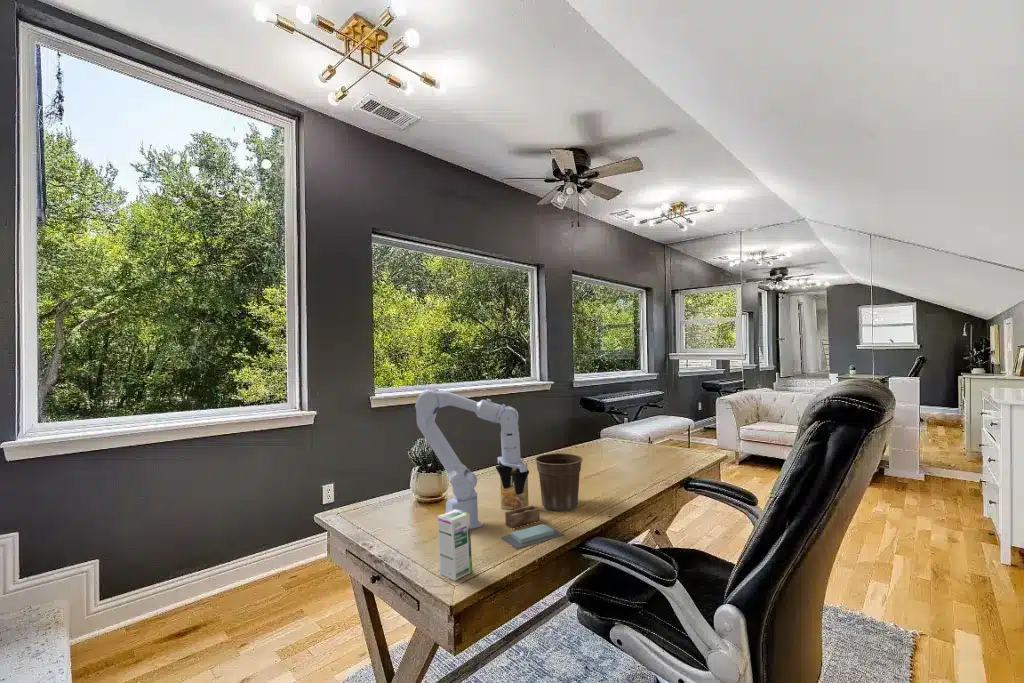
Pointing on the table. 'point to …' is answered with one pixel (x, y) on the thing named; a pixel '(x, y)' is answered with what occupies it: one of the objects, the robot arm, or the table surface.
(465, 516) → the syrup box
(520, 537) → the lid
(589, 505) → the table surface
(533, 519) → the crate
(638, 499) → the table surface
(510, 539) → the mat
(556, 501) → the plant pot
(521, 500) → the candy box
